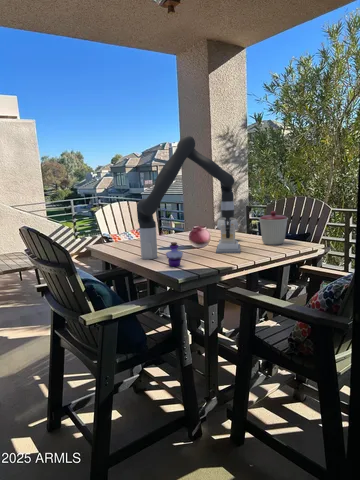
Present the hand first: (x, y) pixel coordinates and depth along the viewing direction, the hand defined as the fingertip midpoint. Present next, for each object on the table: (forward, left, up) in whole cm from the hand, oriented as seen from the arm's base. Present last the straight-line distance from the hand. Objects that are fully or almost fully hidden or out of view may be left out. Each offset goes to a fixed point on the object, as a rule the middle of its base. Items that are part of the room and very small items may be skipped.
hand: (228, 237), depth 210 cm
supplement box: (0, 0, -5) cm, 5 cm away
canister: (+17, -28, -8) cm, 34 cm away
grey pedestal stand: (0, 0, -8) cm, 8 cm away
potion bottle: (-40, +26, -8) cm, 48 cm away
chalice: (+29, +1, -8) cm, 30 cm away
